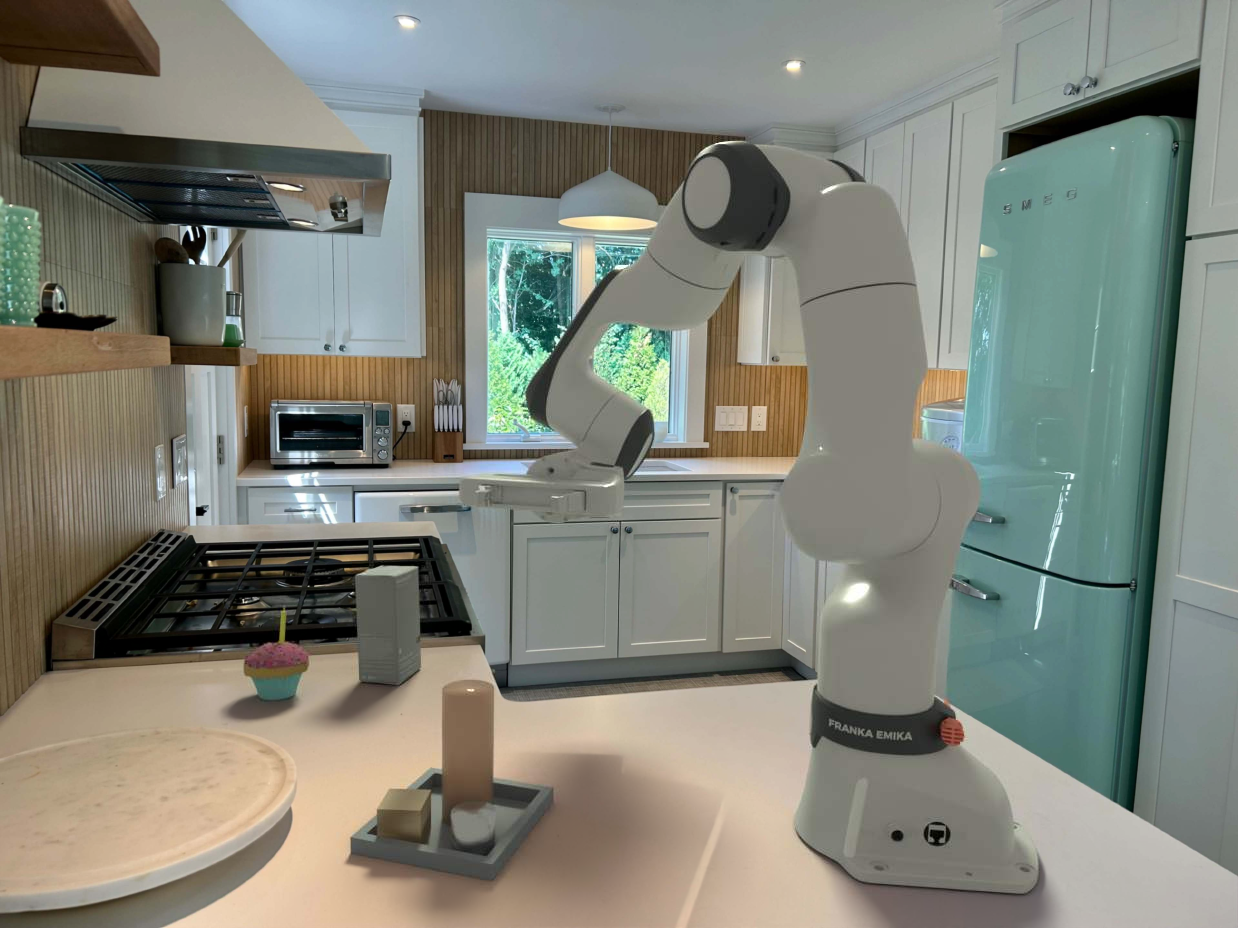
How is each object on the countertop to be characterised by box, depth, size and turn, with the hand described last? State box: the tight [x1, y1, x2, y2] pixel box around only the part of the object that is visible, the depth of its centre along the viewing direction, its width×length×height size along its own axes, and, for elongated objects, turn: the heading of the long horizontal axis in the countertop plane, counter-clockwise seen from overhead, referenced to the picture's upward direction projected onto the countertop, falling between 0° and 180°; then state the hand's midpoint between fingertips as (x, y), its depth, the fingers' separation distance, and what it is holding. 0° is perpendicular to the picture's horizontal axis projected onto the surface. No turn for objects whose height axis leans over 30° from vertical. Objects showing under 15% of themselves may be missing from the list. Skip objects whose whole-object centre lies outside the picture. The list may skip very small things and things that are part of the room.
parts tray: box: [349, 767, 555, 882], centre depth 85 cm, size 14×15×2 cm
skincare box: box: [354, 565, 422, 686], centre depth 129 cm, size 8×7×16 cm
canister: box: [441, 679, 495, 827], centre depth 87 cm, size 5×5×13 cm
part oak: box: [376, 788, 431, 844], centre depth 82 cm, size 4×4×4 cm
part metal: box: [451, 801, 495, 856], centre depth 80 cm, size 4×4×4 cm
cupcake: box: [243, 604, 310, 701], centre depth 120 cm, size 9×8×12 cm
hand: (517, 502), depth 101 cm, fingers open, 8 cm apart
